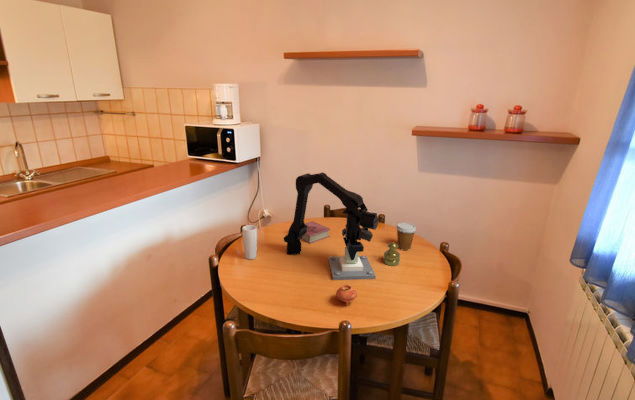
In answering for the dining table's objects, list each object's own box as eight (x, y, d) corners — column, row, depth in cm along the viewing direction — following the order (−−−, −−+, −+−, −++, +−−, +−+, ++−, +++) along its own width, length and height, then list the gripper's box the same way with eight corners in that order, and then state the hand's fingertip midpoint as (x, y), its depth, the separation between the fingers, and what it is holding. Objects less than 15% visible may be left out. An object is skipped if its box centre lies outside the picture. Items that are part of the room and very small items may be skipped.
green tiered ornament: (399, 267, 156) (401, 247, 153) (382, 265, 157) (384, 245, 154) (399, 259, 163) (401, 240, 160) (383, 258, 164) (385, 238, 161)
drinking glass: (251, 262, 158) (250, 231, 153) (240, 258, 161) (238, 228, 156) (261, 256, 163) (260, 226, 159) (250, 252, 167) (249, 223, 162)
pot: (360, 306, 127) (357, 291, 125) (339, 311, 127) (336, 296, 125) (356, 293, 135) (353, 278, 132) (336, 297, 134) (333, 283, 132)
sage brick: (346, 262, 150) (346, 252, 148) (344, 257, 155) (345, 247, 153) (357, 262, 150) (358, 252, 149) (355, 257, 155) (356, 246, 153)
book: (311, 228, 198) (311, 220, 196) (329, 237, 187) (330, 228, 185) (291, 235, 188) (291, 226, 187) (309, 244, 178) (310, 235, 176)
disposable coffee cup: (410, 253, 169) (413, 231, 166) (391, 249, 174) (394, 226, 170) (415, 246, 177) (418, 224, 173) (397, 242, 182) (399, 221, 178)
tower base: (333, 280, 144) (333, 272, 143) (328, 259, 161) (328, 252, 160) (375, 278, 146) (376, 271, 145) (366, 258, 163) (366, 252, 162)
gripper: (377, 232, 139) (374, 267, 144) (366, 216, 157) (364, 247, 162) (349, 233, 138) (347, 268, 143) (342, 216, 156) (341, 248, 161)
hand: (351, 257), depth 152 cm, fingers closed on sage brick, 5 cm apart
